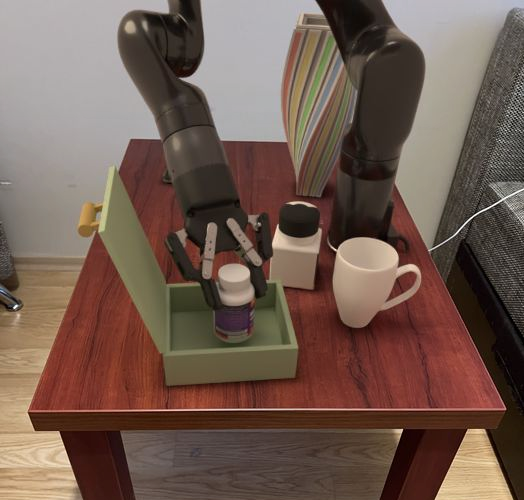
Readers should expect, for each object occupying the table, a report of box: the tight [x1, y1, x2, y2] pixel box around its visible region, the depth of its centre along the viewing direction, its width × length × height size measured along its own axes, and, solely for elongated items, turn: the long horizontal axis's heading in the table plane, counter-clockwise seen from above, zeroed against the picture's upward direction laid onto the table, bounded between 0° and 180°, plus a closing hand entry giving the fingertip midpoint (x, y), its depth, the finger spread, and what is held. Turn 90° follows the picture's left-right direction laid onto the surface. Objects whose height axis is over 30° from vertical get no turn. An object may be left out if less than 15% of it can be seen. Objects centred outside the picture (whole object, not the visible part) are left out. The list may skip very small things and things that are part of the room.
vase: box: [280, 12, 357, 198], centre depth 99 cm, size 14×14×30 cm
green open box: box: [162, 279, 299, 387], centre depth 73 cm, size 17×15×5 cm
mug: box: [332, 237, 422, 329], centre depth 76 cm, size 12×8×11 cm
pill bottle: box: [213, 263, 255, 343], centre depth 70 cm, size 5×5×10 cm
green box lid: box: [76, 165, 167, 355], centre depth 64 cm, size 17×15×4 cm
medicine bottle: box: [268, 201, 323, 291], centre depth 84 cm, size 7×7×12 cm
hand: (240, 302), depth 68 cm, fingers closed on pill bottle, 5 cm apart
